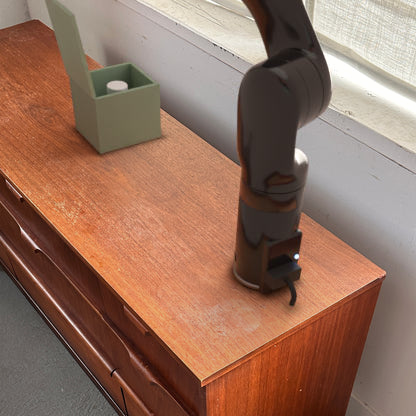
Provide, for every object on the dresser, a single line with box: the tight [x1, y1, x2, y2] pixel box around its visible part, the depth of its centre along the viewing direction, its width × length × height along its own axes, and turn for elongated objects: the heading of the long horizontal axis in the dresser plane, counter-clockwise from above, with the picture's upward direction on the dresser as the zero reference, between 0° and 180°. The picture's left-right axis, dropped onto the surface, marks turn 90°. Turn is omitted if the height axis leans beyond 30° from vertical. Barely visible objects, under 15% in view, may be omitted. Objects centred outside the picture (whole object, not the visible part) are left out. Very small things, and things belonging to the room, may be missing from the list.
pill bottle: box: [107, 81, 128, 94], centre depth 124 cm, size 5×5×9 cm
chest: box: [68, 60, 162, 155], centre depth 124 cm, size 14×12×11 cm
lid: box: [44, 0, 96, 98], centre depth 111 cm, size 14×12×1 cm
